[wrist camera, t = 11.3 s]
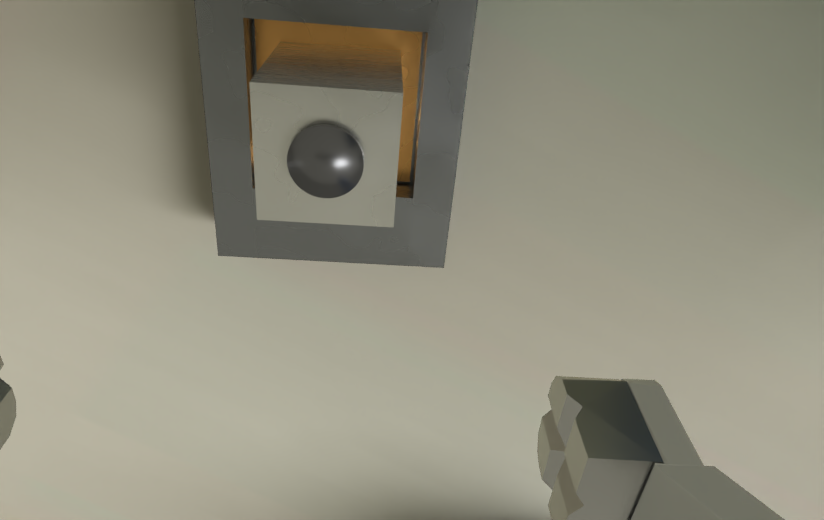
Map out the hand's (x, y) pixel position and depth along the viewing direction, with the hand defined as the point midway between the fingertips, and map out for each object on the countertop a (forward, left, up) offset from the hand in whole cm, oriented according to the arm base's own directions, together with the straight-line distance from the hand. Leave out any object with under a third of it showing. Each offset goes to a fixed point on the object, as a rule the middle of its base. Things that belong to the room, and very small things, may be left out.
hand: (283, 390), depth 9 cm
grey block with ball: (0, 0, -15) cm, 15 cm away
